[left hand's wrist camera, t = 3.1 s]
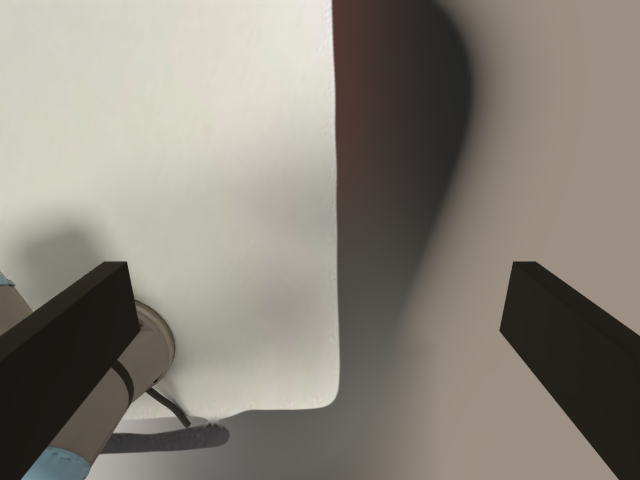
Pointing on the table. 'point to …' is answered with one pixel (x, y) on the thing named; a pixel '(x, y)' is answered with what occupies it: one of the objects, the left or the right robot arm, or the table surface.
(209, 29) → the table surface
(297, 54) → the table surface
